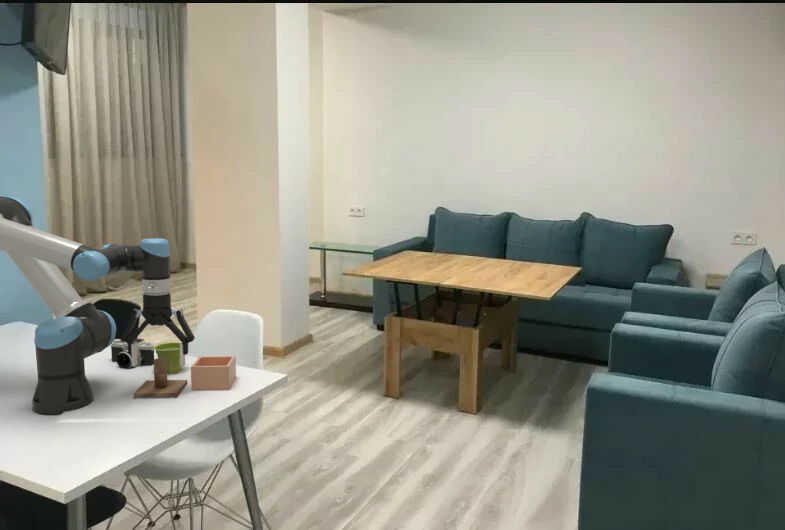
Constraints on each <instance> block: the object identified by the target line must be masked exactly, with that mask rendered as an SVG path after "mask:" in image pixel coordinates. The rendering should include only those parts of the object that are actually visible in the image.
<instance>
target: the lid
mask: <svg viewBox="0 0 785 530" xmlns="http://www.w3.org/2000/svg"><path fill="white" fill-rule="evenodd" d="M153 364H154V365H153V375H154V376H153V379H151V380H150V379H149V380H148V379H147V380H145V381H144V382H143V383H142V384H141V385H140V387H138V388H137V389H136V390H135V392H133V398H134V397H171V396H178V394H179V393H180V392H181V391H182V389H183V388H184V387H185V385H186V384H187V385H188V379H168V374H167V359H166V358H158V357H157V358H154V360H153ZM187 385H186V386H187ZM185 388H186V387H185ZM185 388H184V389H185ZM184 389H183V390H184ZM182 392H183V391H182ZM182 392H181V393H182ZM181 393H180V394H181ZM178 397H179V396H178Z"/></svg>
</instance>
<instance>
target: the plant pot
mask: <svg viewBox="0 0 785 530" xmlns="http://www.w3.org/2000/svg"><path fill="white" fill-rule="evenodd" d="M181 343H182V342H164V343H160V344H157V345H155V346H154V351H155V352H156V356H157V358H166V359H167V375H174V374H178V373H180V372H181V371H182V370H183V369H182V368H183V367H180V344H181Z"/></svg>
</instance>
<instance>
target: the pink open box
mask: <svg viewBox="0 0 785 530" xmlns="http://www.w3.org/2000/svg"><path fill="white" fill-rule="evenodd" d="M236 358H237V357H236V355H231V356H230V355H219V356H218V355H217V356H214V355H213V356H211V355H210V356H209V355H207V356H206V355H205V356H204V355H203V356H198V357H197V358H196V360H194V362H193V364H192V365H190V382H191V384H190V385H191V387H190V388H191V391H219V390H220V391H222V390H226V391H228V390H231V388H232V386H233V384H234V382H235V381H234V380H236V379H237V372H236V371H237V361H236V360H237V359H236ZM235 378H236V379H235Z"/></svg>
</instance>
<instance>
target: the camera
mask: <svg viewBox="0 0 785 530" xmlns="http://www.w3.org/2000/svg"><path fill="white" fill-rule="evenodd" d="M134 342H137V356H138V364H137V365H136V366H132V354H129V353H128V343H126V342H122V341H121V338H116V339H114V341H113V342H112V344H111V345H110V348H111V349H110V350H111V351H110V352H111V361H112V363H117V366H118V367H120V368H121V369H123V370H124V369H126V370H129V369H131V368H133V367H140V366H144V367H152V366H154V364H153V360H154V359H155V349H154V347H155V346H154V344H152V343H151V341H145V339H144V338H136V339H135V341H134ZM126 360H128V361H129V362H128V364H126Z"/></svg>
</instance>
